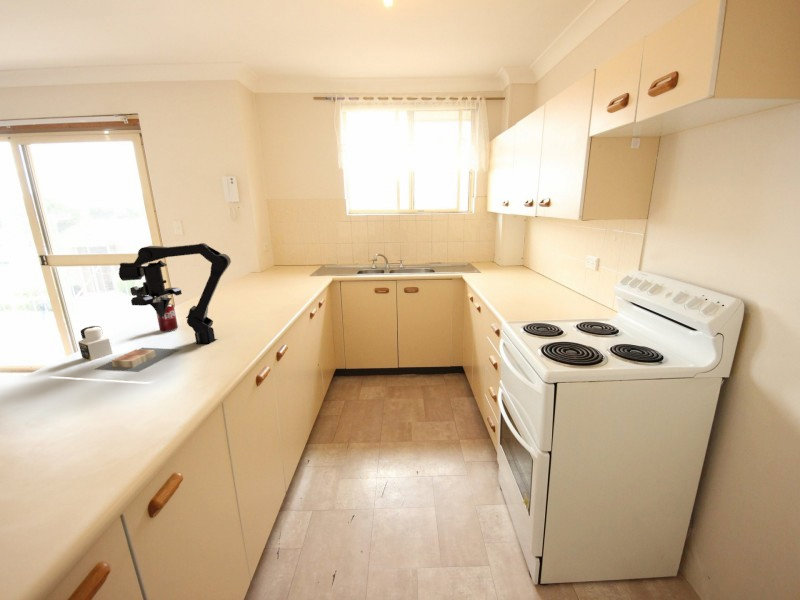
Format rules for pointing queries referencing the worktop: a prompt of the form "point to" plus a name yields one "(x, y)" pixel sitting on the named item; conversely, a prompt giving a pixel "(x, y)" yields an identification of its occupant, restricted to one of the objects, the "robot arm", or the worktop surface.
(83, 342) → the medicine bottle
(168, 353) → the mat
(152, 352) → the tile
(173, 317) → the soda can
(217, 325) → the worktop surface
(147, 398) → the worktop surface
